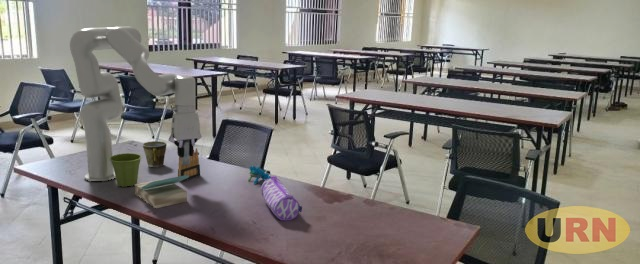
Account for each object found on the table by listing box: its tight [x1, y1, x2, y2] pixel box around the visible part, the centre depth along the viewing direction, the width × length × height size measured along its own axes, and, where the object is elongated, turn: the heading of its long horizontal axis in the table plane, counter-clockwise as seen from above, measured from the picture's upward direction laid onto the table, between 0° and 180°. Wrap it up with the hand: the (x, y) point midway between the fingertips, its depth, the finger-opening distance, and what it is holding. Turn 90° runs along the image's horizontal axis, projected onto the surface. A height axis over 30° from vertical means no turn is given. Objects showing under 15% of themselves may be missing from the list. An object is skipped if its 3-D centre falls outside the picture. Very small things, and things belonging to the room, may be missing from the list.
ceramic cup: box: [142, 140, 168, 168], centre depth 231 cm, size 13×10×10 cm
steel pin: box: [181, 139, 190, 165], centre depth 202 cm, size 3×3×10 cm
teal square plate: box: [141, 175, 189, 190], centre depth 189 cm, size 12×13×1 cm
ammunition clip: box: [177, 148, 201, 183], centre depth 216 cm, size 11×2×12 cm, turn 147°
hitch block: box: [134, 178, 188, 209], centre depth 193 cm, size 18×12×4 cm, turn 40°
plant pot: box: [110, 152, 143, 188], centre depth 206 cm, size 12×12×11 cm
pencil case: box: [260, 175, 303, 221], centre depth 183 cm, size 22×9×10 cm, turn 22°
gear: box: [247, 165, 271, 185], centre depth 213 cm, size 11×6×10 cm
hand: (185, 155), depth 202 cm, fingers closed on steel pin, 3 cm apart
